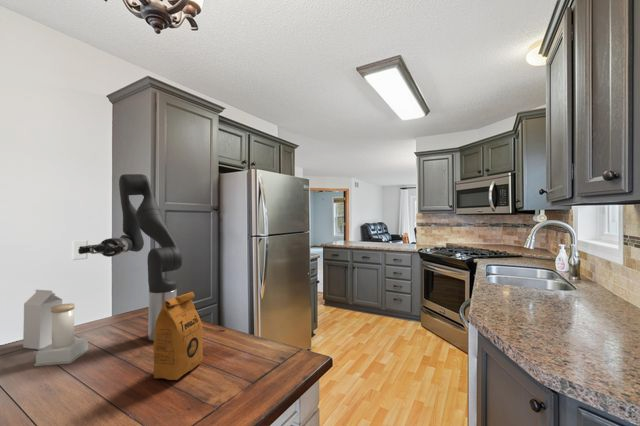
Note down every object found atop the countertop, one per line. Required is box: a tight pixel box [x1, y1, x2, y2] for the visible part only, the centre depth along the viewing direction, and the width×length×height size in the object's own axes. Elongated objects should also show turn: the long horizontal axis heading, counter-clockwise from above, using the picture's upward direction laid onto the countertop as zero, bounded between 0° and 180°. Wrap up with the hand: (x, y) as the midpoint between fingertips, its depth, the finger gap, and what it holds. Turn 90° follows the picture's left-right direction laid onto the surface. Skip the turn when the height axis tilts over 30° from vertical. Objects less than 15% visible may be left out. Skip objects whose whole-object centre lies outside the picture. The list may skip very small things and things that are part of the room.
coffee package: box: [153, 291, 204, 381], centre depth 85 cm, size 10×12×22 cm
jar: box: [51, 302, 75, 348], centre depth 93 cm, size 6×6×12 cm
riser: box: [33, 337, 90, 367], centre depth 93 cm, size 10×10×4 cm
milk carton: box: [22, 289, 63, 350], centre depth 102 cm, size 7×7×19 cm
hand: (93, 251), depth 109 cm, fingers open, 8 cm apart
